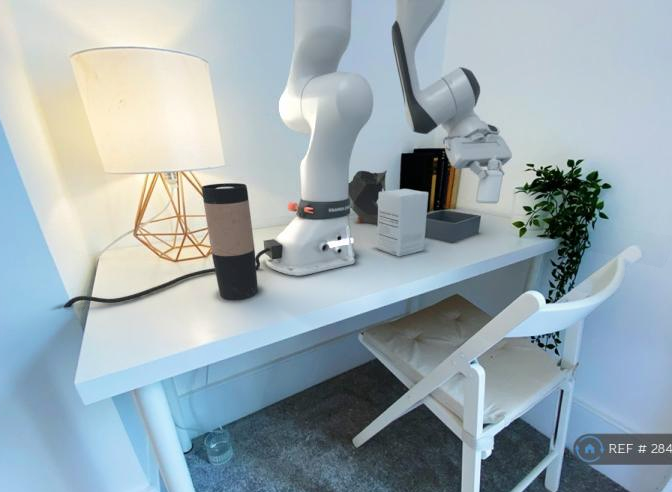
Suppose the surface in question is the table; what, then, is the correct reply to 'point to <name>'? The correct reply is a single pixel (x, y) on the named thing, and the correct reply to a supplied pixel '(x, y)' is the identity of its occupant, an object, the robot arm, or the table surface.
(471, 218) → the grey open rectangular box
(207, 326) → the table surface
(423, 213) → the white product box
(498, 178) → the eye dropper bottle
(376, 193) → the dark grey faceted sculpture
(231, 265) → the travel mug
